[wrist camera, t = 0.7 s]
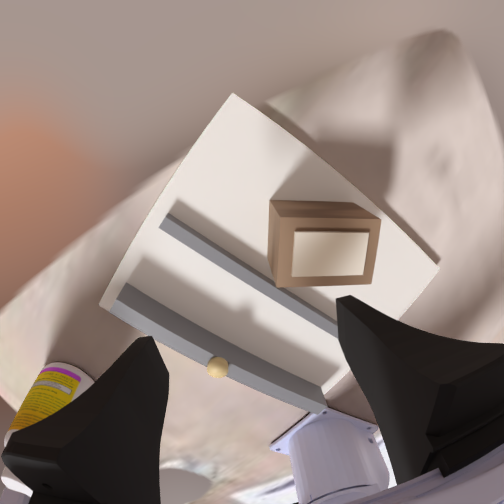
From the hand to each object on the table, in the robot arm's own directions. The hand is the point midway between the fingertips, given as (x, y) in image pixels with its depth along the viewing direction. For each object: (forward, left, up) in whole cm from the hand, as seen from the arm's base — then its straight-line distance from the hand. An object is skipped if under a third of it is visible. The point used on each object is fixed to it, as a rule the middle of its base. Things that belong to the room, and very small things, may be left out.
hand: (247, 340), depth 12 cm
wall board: (-4, +1, -10) cm, 11 cm away
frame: (-3, -4, -9) cm, 10 cm away
